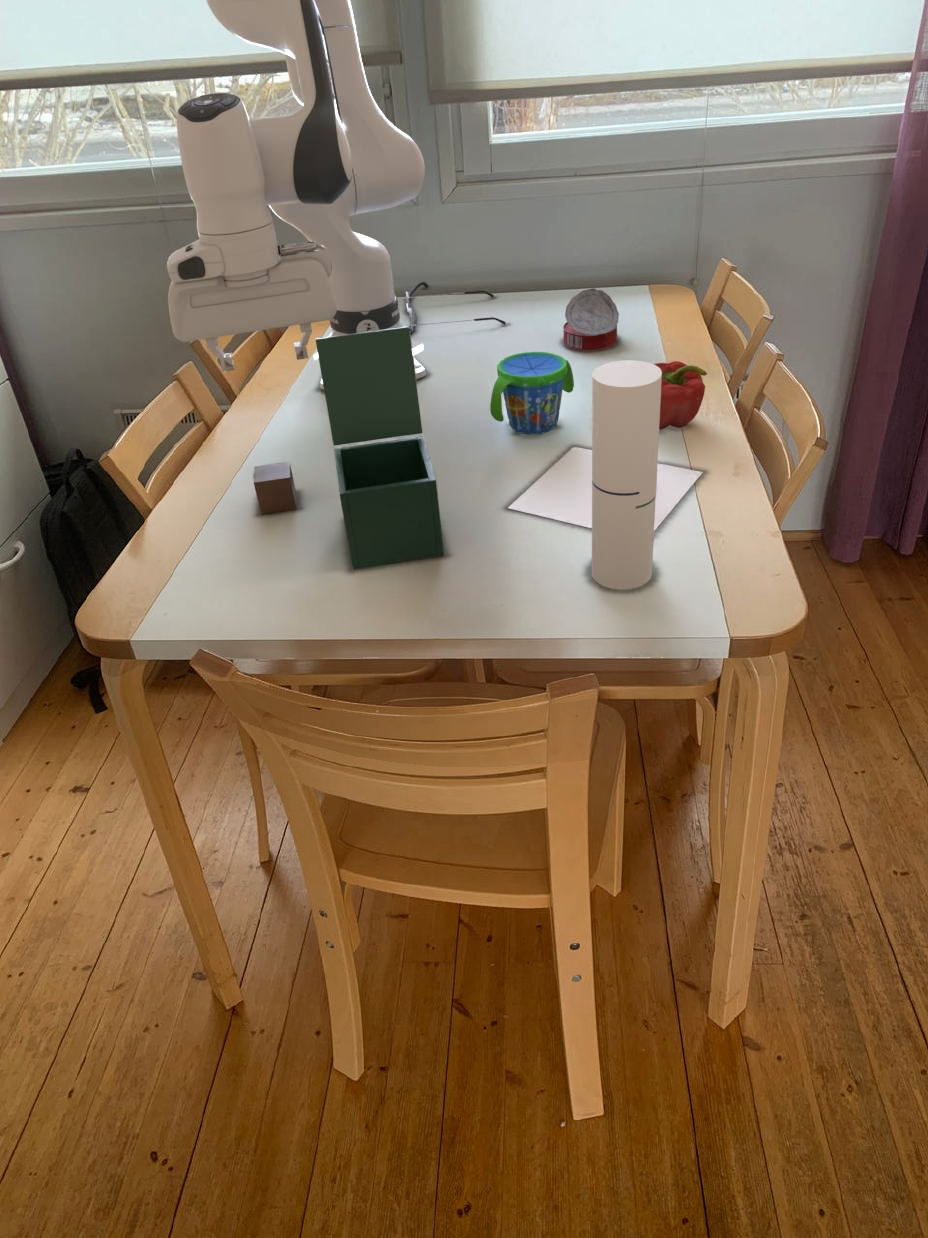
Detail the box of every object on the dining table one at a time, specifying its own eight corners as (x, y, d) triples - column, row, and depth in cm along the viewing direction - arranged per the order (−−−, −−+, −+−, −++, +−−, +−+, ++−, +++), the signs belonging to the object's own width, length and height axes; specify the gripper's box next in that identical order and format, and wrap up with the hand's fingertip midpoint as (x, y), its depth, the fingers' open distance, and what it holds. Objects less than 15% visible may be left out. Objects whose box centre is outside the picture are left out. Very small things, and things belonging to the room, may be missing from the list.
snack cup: (552, 401, 153) (551, 340, 147) (594, 422, 146) (594, 359, 140) (473, 429, 147) (469, 367, 141) (513, 452, 140) (510, 388, 134)
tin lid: (409, 327, 115) (408, 325, 116) (315, 339, 114) (315, 338, 115) (422, 433, 121) (422, 431, 122) (333, 445, 120) (333, 444, 121)
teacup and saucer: (638, 505, 124) (639, 478, 122) (584, 493, 128) (584, 466, 126) (664, 476, 130) (665, 450, 128) (611, 465, 134) (612, 439, 132)
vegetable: (719, 420, 143) (725, 357, 137) (682, 445, 137) (686, 380, 132) (658, 403, 150) (661, 342, 144) (620, 427, 144) (622, 364, 138)
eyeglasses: (405, 306, 198) (403, 287, 196) (493, 299, 199) (492, 280, 197) (410, 335, 183) (408, 315, 181) (505, 327, 185) (505, 307, 182)
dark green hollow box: (444, 555, 118) (436, 480, 112) (352, 570, 117) (339, 494, 111) (430, 507, 128) (422, 435, 122) (346, 520, 127) (334, 448, 121)
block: (261, 497, 135) (254, 466, 132) (296, 492, 135) (289, 461, 132) (261, 514, 131) (253, 482, 128) (296, 509, 131) (290, 477, 128)
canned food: (613, 358, 178) (639, 314, 171) (590, 372, 171) (616, 326, 164) (567, 324, 180) (591, 278, 173) (542, 336, 173) (566, 289, 166)
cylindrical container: (586, 559, 115) (586, 364, 100) (643, 553, 115) (652, 357, 100) (598, 592, 109) (599, 390, 94) (658, 585, 109) (669, 382, 95)
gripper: (325, 232, 115) (344, 343, 123) (157, 256, 113) (187, 367, 121) (329, 244, 110) (348, 358, 118) (153, 270, 108) (185, 384, 116)
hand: (265, 363), depth 120 cm, fingers open, 8 cm apart
